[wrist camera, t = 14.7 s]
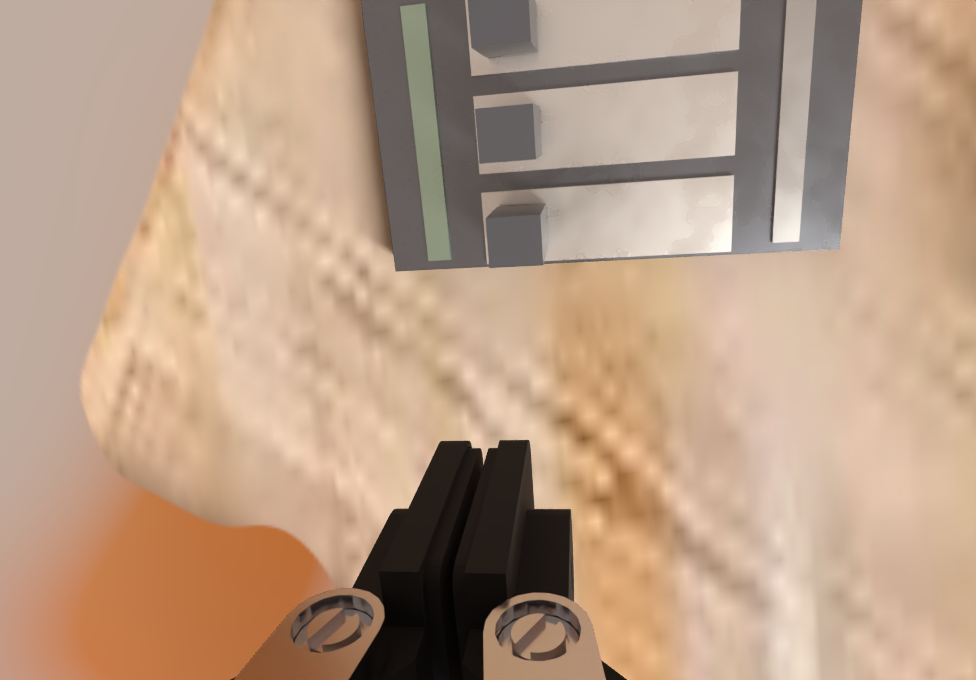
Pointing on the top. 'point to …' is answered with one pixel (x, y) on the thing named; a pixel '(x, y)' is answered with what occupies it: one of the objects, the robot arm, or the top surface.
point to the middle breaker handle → (508, 133)
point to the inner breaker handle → (517, 236)
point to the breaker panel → (620, 127)
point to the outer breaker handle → (503, 27)
